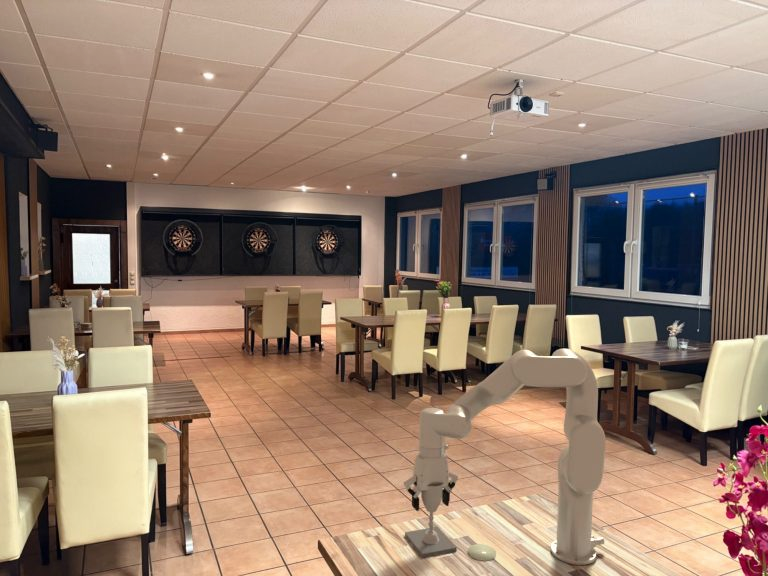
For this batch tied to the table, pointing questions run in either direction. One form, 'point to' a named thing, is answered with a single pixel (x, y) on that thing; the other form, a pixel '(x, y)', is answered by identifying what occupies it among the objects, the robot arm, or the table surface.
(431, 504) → the chalice
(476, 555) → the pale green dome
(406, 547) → the table surface
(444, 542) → the slate board
